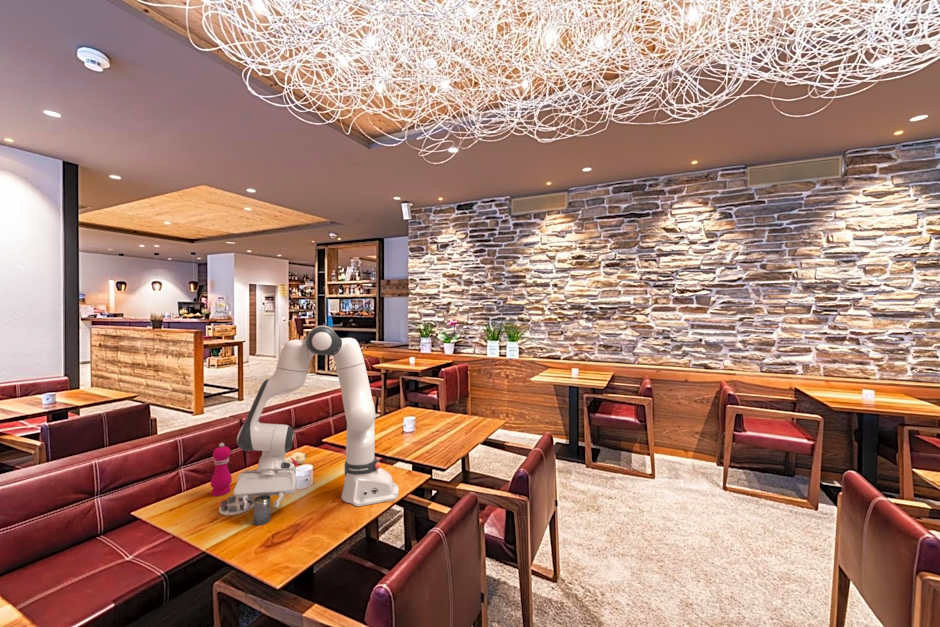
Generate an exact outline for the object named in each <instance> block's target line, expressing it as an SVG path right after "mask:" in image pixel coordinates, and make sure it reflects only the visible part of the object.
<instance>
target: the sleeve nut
mask: <svg viewBox="0 0 940 627" xmlns="http://www.w3.org/2000/svg"><path fill="white" fill-rule="evenodd" d="M270 521H271V496H268V495H263V496H259V497H254V507H253V525H254V526H264V525H266V524H268V523H269V522H270Z"/></svg>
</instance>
